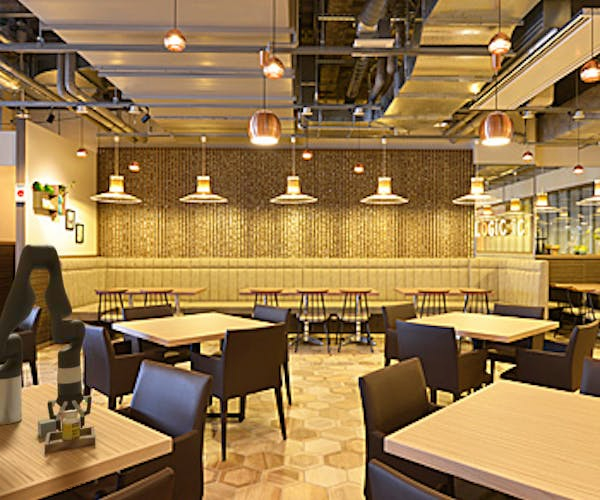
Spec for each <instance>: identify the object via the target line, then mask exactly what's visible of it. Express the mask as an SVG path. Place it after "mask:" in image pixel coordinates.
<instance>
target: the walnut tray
mask: <svg viewBox="0 0 600 500" xmlns="http://www.w3.org/2000/svg"><path fill="white" fill-rule="evenodd" d="M95 428H96V427H95V425H92V426H83V428H80V439H74V440H67V441H62V430H61V431H59V432H58V430H57V431H56V432H49V433H47V436H46V437H45V441H44V454H46V455H47V454H52V453H57V452H62V451H63V452H64V451H65V452H66V451H71V450H76V449H83V448H89V447H95V446H96V435H95V430H96V429H95Z"/></svg>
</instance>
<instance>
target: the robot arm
mask: <svg viewBox="0 0 600 500" xmlns="http://www.w3.org/2000/svg"><path fill="white" fill-rule="evenodd" d="M60 261H61V260H60V257H59V253H58V251H57V249H56V247H55V246H54V245H52V244H46V243H45V244H44V243H30V244H26V245H25V246H24V247H23V248H22V250H21V252H20V256H19V260H18V264H17V268H16V272H15V276H14V280H13V282H12V285H11V288H10V290H9V293H8V295H7V298H6V300H5V303H4V307H3V310H2V313H1V314H0V315H1V316H0V361H3V360H5V362H4V364H2V365H1V366H0V426H1V425H9V424H13V423H17V422H20V421H22V419H23V406H22V405H23V401H22V400H23V399H22V398H23V397H22V369H23V357H24V356H23V355H24V354H23V353H24V343H23V339H22V337H21V336H20V335H19V334H18V333H13V332H14V331H15V330H16V329H17V328H19V326H21V325H22V324H23V323H24V322H25V321H26V320H27V319H28V318H29V317H30V315H31V314H32V311H33V309H34V306H35V304H36V299H37V297H36V293H35V290H34V288H33V286H32V283H31V280H30V279H31V275H32V272H33V271H34V270H35V271H36V270H37V271H39V270H42V271H43V270H44V271H45V270H46V271H47V273H48V275H49V281H48V284H47V286H46V289H45V292H44V293H45V294H44V301H45V304H46V307H47V309H48V313H49V317H50V337H52V339H53V341H54V342H56V343H58V344H60V343H61V344H62V343H69V345H68V346H67V347H64V348H62V349H60V350H58V352H57V373H56V374H57V375H56V376H57V377H56V381H57V383H56V384H57V386H56V387H57V397H56V399H53V400H51V399H49V400H47V411H48V415H49V417H48V418H50V419H51V420H52V419H54V420H56V430H57V431H58V432H59V431H62V424H61V415H62V414H63V411H64V410H65V411H68V410H77V411H78V414H79V418H80V428H84V427H85V424H86V422H85V420H86V418H85V417H86V416H89V415H90V414H91V408H92V400H93V399H92V398H93V397H92V395H91V394H90V395H84V394H83V384H82V382H83V381H82V379H83V377H82V374H83V373H82V366H81V363H82V362H81V354H82V353H81V351H82V347H83V344H84V339H85V337H86V332H87V331H86V324H85V323H84V322H83V321H82V320H80V319H72V320H64V319H67V318H68V317H70V316H71V315H72V314H73V307H72V305H71V303H70V299H69V297H68V294H67V291H66V289H65V283H64V279H63V278H64V277H63V271H62V268H61V262H60ZM83 400H84V403H85V404H86V410H83V408H82V405H81V404H82V402H83ZM55 404H57V406H59V407H60V408H58V412H57V414H55V412H54V407H55Z"/></svg>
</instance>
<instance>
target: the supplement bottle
mask: <svg viewBox="0 0 600 500" xmlns="http://www.w3.org/2000/svg"><path fill="white" fill-rule="evenodd" d="M78 414H79V413H78V411H77V410H76V409H75V410H69V411H66V412H65V418H64V419H63V421H62V424H61V431H62V441H67V440H74V439H80V416H79V417H78Z"/></svg>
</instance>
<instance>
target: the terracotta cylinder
mask: <svg viewBox="0 0 600 500" xmlns="http://www.w3.org/2000/svg"><path fill="white" fill-rule="evenodd" d="M68 411H69V410H68ZM65 412H66V411H65V410H64V411H63V414H62V415H61V417H60V419H61V425H62V421H63V419H64V418H65Z"/></svg>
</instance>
